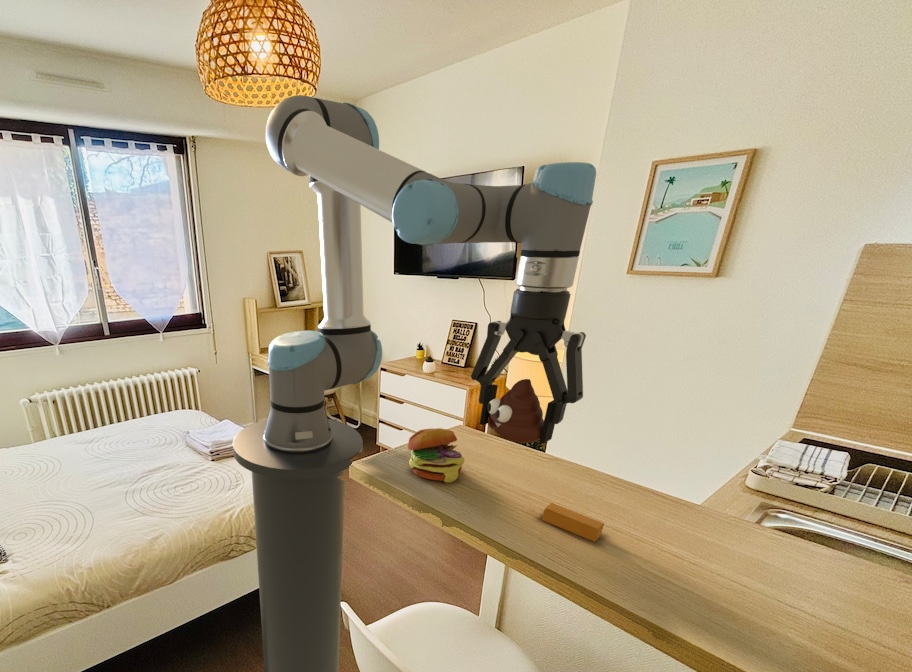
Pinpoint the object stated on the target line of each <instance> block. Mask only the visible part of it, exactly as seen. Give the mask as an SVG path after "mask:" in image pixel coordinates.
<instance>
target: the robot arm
mask: <svg viewBox="0 0 912 672" xmlns="http://www.w3.org/2000/svg"><path fill="white" fill-rule="evenodd" d="M379 135H380V134H379V130H378V126H377V124H376V121H375V119H374V118H373V116H372V115H371V114H370V113H369V112H368V111H367V110H365V109H364V108H362V107H359V106H356V105H355V104H352V103H350V102H339V101H333V100H328V99H323V98H317V97H313V96H309V95H304V94H303V95H301V94H299V95H298V94H296V95H292V96H289V97H286V98H284V99H282V100H281V101H280V102H279V103H277V104H276V105H275V106H274V108H273V109H272V110H271V112H270V114H269V116H268V118H267V121H266V126H265V143H266V146H267V150H268V153H269V155H270V157H271V158H272V159H273V160H274V162H275V163H276V164H277V165H278V166H279V167H280V168H282V169H284V170H286V171H288V172H290V173H291V174H293V175H294V176H298V177H306V176H308V180H309V188H310V189H311V190H312V191H313V192H314V193H315V194H316V196H317V206H318V207H317V208H318V209H317V210H318V221H319V222H318V225H319V243H320V259H321V260H320V261H321V279H322V295H323V296H322V298H323V315H324V318H323V319H322V321H320V323H319V324H318V325H317V329H318V330H307V329H305V330H300V331H298V330H294V331H291V332H286V333H282V334H280V335H279V336H276V337H275V338H273V340H272V341H271V342H270V344H269V345H268V358H267V359H268V360H267V366H268V375H269V379H268V380H269V395H270V397H269V398H270V399H269V400H270V410H269V413H268V418H267V420H268V421H267V425H266V428H265V430H264V443H265V445H266V446H267V447H269V448H270V449H272V450H274V451H277V452H281V453H287V454H307V453H313V452H317V451H320V450H322V449H324V448H326V447H328V446H329V445H330V444H331V442H332V432H331V428H330V426H329V422H328V419H329V418H328V416H327V413H326V409H325V392H326V391H329V390H333V389H337V388H341V387H346V386H349V385H356V384H359V383H362V382H364V381H366V380H368V379H370V378H372V377H373V376H374V375H375V374H376V373H377V372H378V370H379V368H380V366H381V363H382V359H383V345H382V342H381V340H380V339H379V336H378V335H377V333H376V332H374V331H373V330H372V327H371V325H372V323H371V321H370V320H369V319H368V318H367V317H366V316H365V314H364V283H363V281H364V280H363V249H362V248H363V247H362V246H363V245H362V214H361V213H362V209H361V208H362V207H363V208H366V209H367V210H369V211H371V212H373V213H375V214H376V215H377V216H380V217H382V218H383V219H385V220H386V221H389V222H390V223H392V225H393V228H394V229H395V231H396V233H397V236H398V237H399V238H400V239H401V241H404V242H405V243H408V244H413V245H414V244H416V245H420V246H426V247H427V246H433V245H446V244H479V243H513V244H514V243H515V244H521V250H520V255H519V256H520V257H519V262H518V267H517V273H516V278H515V284H516V285H517V286H518V288H516V289H515V290H514V291H513V296H512V301H511V306H510V315H509V316H510V317H509V319H508V320H507V322H506V321H505V322H502V321H501V320H495V321H491V322H489V323H488V324H487V330H486V331H487V332H486V339H485V340H484V343H483V346H482V347H481V350H480V353H479V355H478V358H477V359H476V363H475V365H474V367H473V370H472V372H471V374H470V378H471V380H472V381H476V382H478V383H479V384H480V389H479V395H478V404H480V405H482V406H481V412H480V418H479V425H481V426H486V425H488V417H489V415H490V413H489V411H488V409H487V406H488V404H489V402H490V401H491V400H493V399H497V393H498V386H499V385H498V384H495V383H496V380H497V378H498V377H500V375H501V373H502V372H503V371H504V369H505V368H506V367H507V366H508V365H509V364H510V362H511V361H512V360H513V358H515V356H516V354H518V353H527V354H530V355H533V356H538V358H539V360H540V362H541V364H542V365H543V368H544V369H543V370H544V372H545V376H546V379H547V382H548V385H549V389H550V392H551V395H552V398H553V400H551V401H549V402H548V403H547V406H546V411H545V415H544V418H543V420H544V423H543V428H542V432H541V437H540V440H538V442H539V443H541V444H542V445H543V444H546V443H547V442H549V441H551V440H552V438H553V434H554V429H555V426H556V425H558V424H560V423H561V422H562V421H563V420H564V416H565V412H566V408H567V404H575V403H577V402H578V401H580V400H582V399H583V397H584V383H583V379H584V378H583V351H582V349H583V346H584V343H585V340H586V337H587V335H586V333H585V332H583V331H580V332H575V331H570V330H566V327H565V320H566V316H567V313H568V308H569V303H570V299H571V295H572V294H571V293H570V291H569V290H568V289H569V288H571V287H573V286H574V282H575V278H576V272H577V269H578V262H579V259H580V254H581V249H582V244H583V239H584V235H585V232H586V227H587V223H588V219H589V214H590V212H591V207H592V206H593V202H594V200H593V197H594V192H595V191H594V190H595V184H596V180H597V179H596V178H597V168H596V167H595V165H594V164H592V163H589V162H581V161H572V162H571V161H570V162H569V161H568V162H554V163H548V164H542V165H539V167H537V168H536V169H535V171H534V174H533V178H532V179H531V182H530V183H525V184H524V183H523V184H519V185H485V184H483V185H482V184H471V183H460V182H452V181H448V180H445V179H443V178H441V177H438V176H437V175H434V174H432V173H430V172H427V171H425V170H423V169H422V168H419V167H417V166H415V165H413V164H410V163H409V162H406V161H404V160H402V159H400V158H398V157H396V156H393V155H391V154H389V153H387V152H385V151H384V150H383V151H382V150H380V136H379ZM505 332H506V334H507V336H508V339H509V341H508V342H507V343H506V345H505V347H504V348H503V349H502V352H501V353H500V355H499V356H498V357H497V359H496V360H495V361H494V362H493V364H491V362H492V359H493V357H494V355H495V353H496V350H497V349H498V346H499V343H500V341H501V339H502V336H503V335H504V334H505ZM561 340H563V345H564V347H565V348H566V351H565V363H566V364H565V367H566V382H565V378H564V375H563V371H562V368H561V365H560V362H559V358H558V355H559V354H558V350H557V346H556V344H557V343H559V342H560V341H561ZM490 364H491V367H490ZM489 367H490V368H489Z"/></svg>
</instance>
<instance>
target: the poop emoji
mask: <svg viewBox="0 0 912 672" xmlns="http://www.w3.org/2000/svg"><path fill="white" fill-rule="evenodd" d="M487 409H488V411H489V413H490V415H489V417H488V423H487V425H488V427H489V428H490V429H491V430H494V432H495V433H496V434H497V435H498V436H499V437H500V438H503V439H504V440H507V441H510V442H514V443H521V444H526V443H535V442H539V441H540V437H541V432H542V428H543V423H544V418H543V417H544V411H543V409H542V407H541V402H540V400H539V397H538V396H537V394H536V392H535V389H534V387H533V385H532V380H531V379H529V378H524V379H520V380H517V382H515V383H514V384H513V386H512V387H511V388H510V389H509V390H508V391H507V392H506V393H505V394H503V395H502V396H501V397H500V398H496V399H493V400H491V401H490V402H489V404H488V406H487Z"/></svg>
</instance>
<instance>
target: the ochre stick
mask: <svg viewBox="0 0 912 672" xmlns="http://www.w3.org/2000/svg"><path fill="white" fill-rule="evenodd" d="M541 520H542V521H544V522H546V523H548V524H549V525H553V526H555V527H558V528H561V529H562V530H565V531H567V532H570V533H572V534H575V535H577V536H578V537H579V536H580V537H582V538H584V539H586V540H589V541H590V542H591V541H592V542H596V541H597V540H598V539H599V538H600V537H601V536H602V532H603V529H604V526H605V523H604V522H603V521H600V520H597V519H594V518H592V517H589V516H586V515H585V514H583V513H582V514H581V513H580V512H576V511H574V510H571V509H569V508H566V507H564V506H562V505H559V504H556V503H554V502H551V503H549V504H548V505H547V506H545V508H544V511H543V516H542V519H541Z"/></svg>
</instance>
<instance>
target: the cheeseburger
mask: <svg viewBox="0 0 912 672" xmlns="http://www.w3.org/2000/svg"><path fill="white" fill-rule="evenodd" d="M457 441H458V438H457V436H456V434H455V432H454V431H453V430H450V429H446V428H441V427H440V428H439V427H438V428H424V429H419V430H418V431H416V432H415V433H413V434H412V435H411V436H410V437H409V438H408V443H407V449H408V450H410V451H411V452H410V455H411V457H410V458H409V460H408V464H409V467H410V468H411V469H412V472H413V473H414V474H415V475H416V476H418V477H420V478H424V479H428V480H431V481H440V482H442V481H443V482H444V483H446V484H448V483H449V484H450V483H453V482H455V481H457V479H458V477H459V476H460V474H461V472H462V468H463V467H462V466H463V465H464V464H465V457H464V456H463V455H462V453H461V452H460V451H457V450H456V449H455V448H457V446H458V444H456V445H454V444H452V443H455V442H457Z"/></svg>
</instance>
